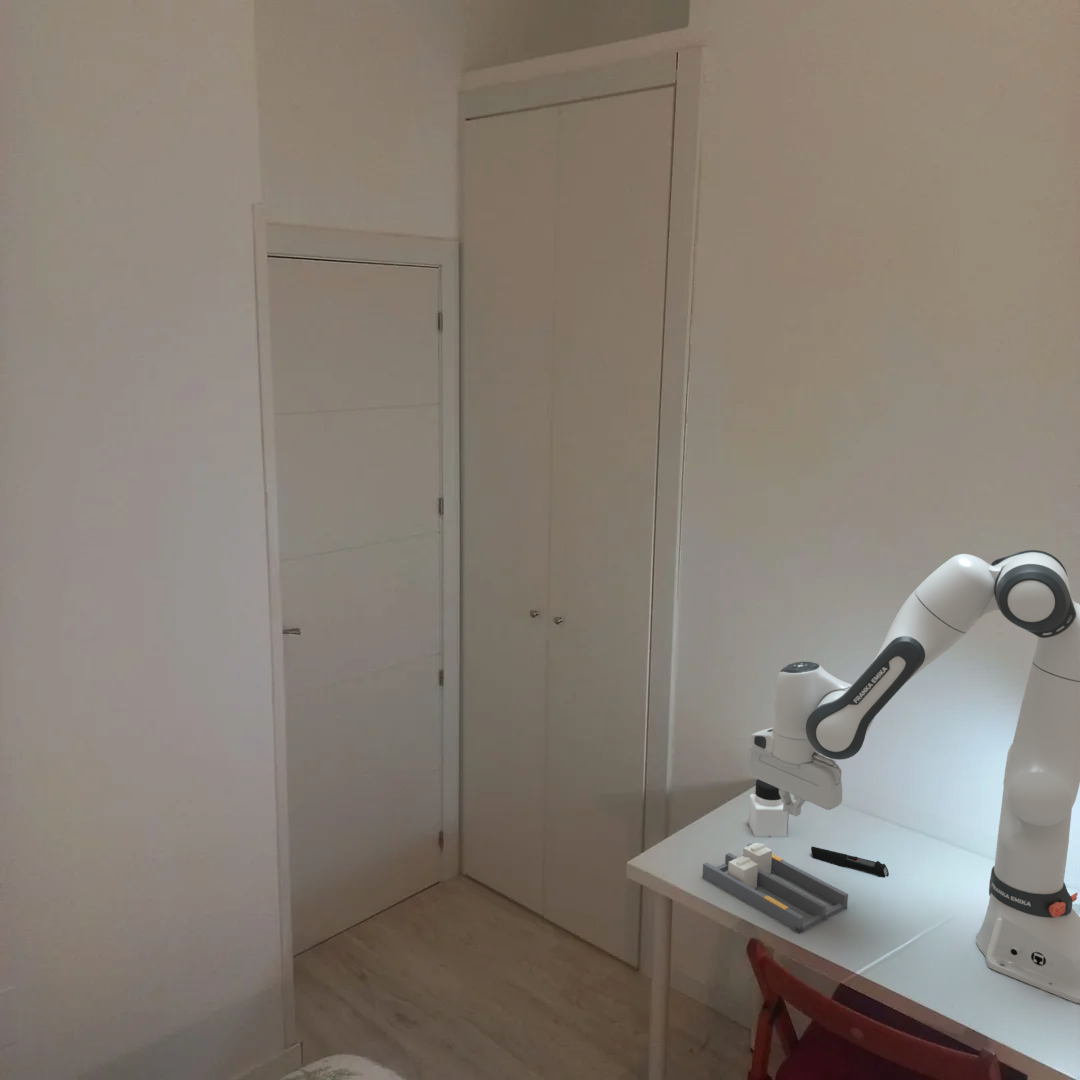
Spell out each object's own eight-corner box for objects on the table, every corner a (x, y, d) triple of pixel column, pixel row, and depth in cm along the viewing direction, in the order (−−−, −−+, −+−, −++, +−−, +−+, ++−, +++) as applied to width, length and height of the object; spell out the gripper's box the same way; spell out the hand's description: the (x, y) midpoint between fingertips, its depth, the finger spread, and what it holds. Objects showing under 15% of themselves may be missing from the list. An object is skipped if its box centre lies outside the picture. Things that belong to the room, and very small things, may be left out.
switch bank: (846, 911, 194) (848, 893, 194) (798, 936, 186) (800, 917, 185) (749, 859, 213) (750, 842, 212) (702, 880, 205) (703, 862, 204)
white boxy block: (756, 887, 201) (758, 861, 200) (742, 894, 199) (744, 867, 197) (741, 878, 204) (742, 853, 203) (727, 885, 202) (728, 859, 201)
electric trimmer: (813, 855, 216) (814, 841, 215) (889, 874, 208) (890, 860, 208) (808, 863, 213) (809, 849, 212) (885, 883, 205) (886, 868, 205)
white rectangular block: (770, 873, 206) (772, 847, 205) (757, 879, 204) (759, 853, 203) (755, 864, 209) (757, 839, 208) (742, 870, 207) (743, 845, 206)
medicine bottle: (787, 839, 222) (790, 787, 219) (754, 839, 222) (757, 787, 219) (779, 823, 229) (782, 773, 226) (747, 823, 229) (750, 773, 226)
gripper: (852, 759, 188) (847, 828, 191) (765, 725, 204) (762, 790, 207) (830, 767, 185) (825, 838, 187) (744, 732, 201) (740, 798, 203)
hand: (791, 813), depth 197 cm, fingers closed
